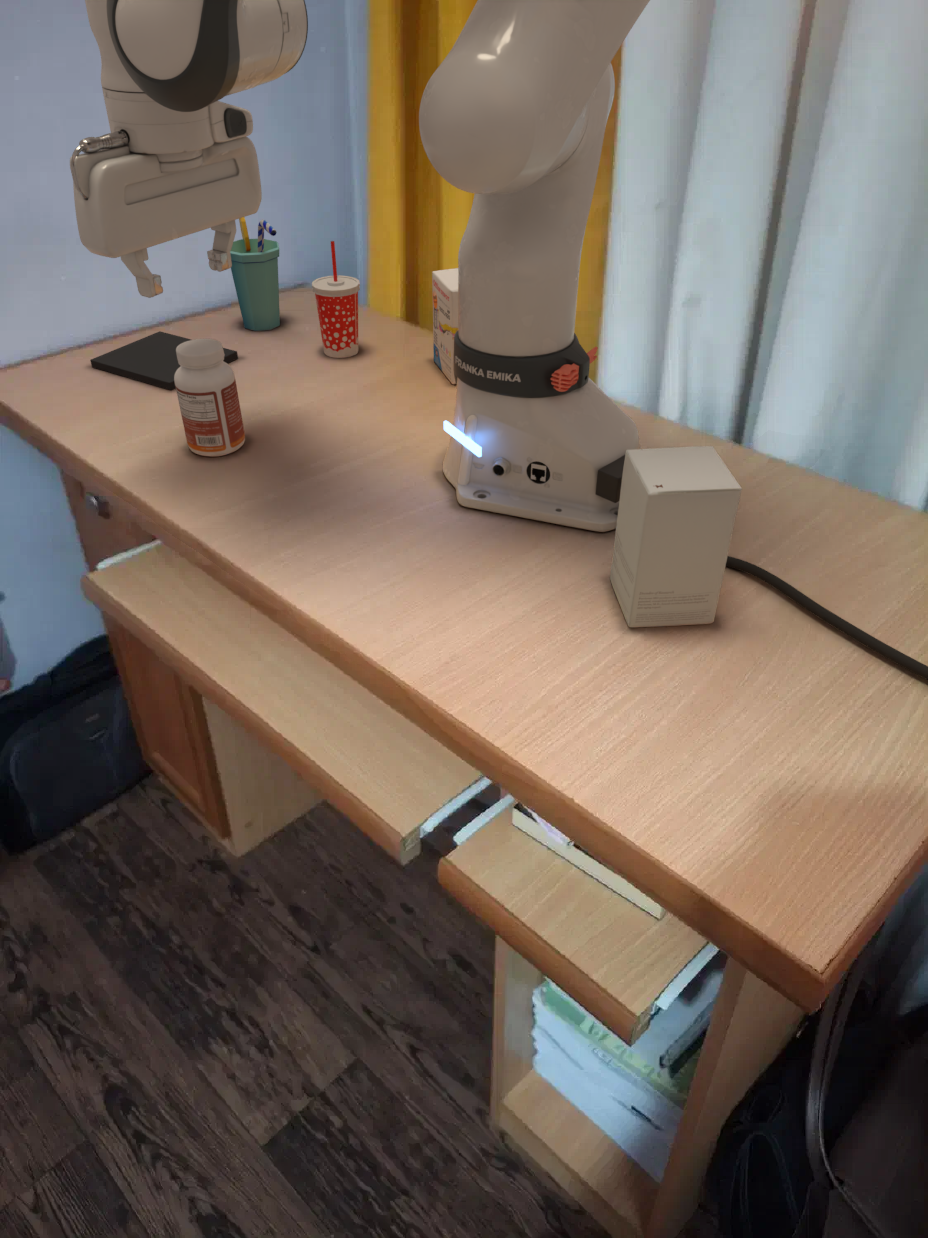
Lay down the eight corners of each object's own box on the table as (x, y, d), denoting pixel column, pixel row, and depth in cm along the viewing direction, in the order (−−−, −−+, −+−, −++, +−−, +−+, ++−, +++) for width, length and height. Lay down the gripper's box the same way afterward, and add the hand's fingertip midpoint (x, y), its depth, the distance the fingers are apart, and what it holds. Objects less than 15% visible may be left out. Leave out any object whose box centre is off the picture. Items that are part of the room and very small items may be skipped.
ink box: (431, 360, 119) (430, 268, 112) (492, 352, 121) (495, 261, 114) (451, 385, 112) (451, 289, 105) (515, 377, 115) (519, 282, 107)
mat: (238, 358, 119) (237, 350, 119) (171, 390, 111) (169, 382, 110) (161, 337, 125) (159, 330, 124) (91, 367, 117) (89, 359, 116)
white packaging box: (715, 625, 74) (745, 489, 67) (626, 629, 74) (645, 492, 66) (690, 574, 80) (715, 443, 73) (607, 577, 80) (623, 446, 72)
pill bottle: (229, 427, 103) (213, 330, 96) (256, 446, 99) (241, 347, 92) (178, 443, 100) (157, 344, 93) (204, 464, 96) (184, 362, 89)
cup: (312, 335, 126) (300, 220, 117) (260, 346, 122) (244, 229, 113) (268, 306, 135) (255, 198, 126) (219, 317, 132) (201, 205, 122)
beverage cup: (334, 339, 125) (325, 232, 116) (373, 347, 122) (366, 238, 114) (309, 354, 120) (297, 244, 112) (348, 363, 118) (339, 250, 110)
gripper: (93, 146, 72) (129, 319, 81) (264, 110, 86) (279, 261, 95) (39, 136, 75) (80, 305, 83) (214, 103, 89) (233, 250, 97)
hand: (187, 281), depth 89 cm, fingers open, 8 cm apart
